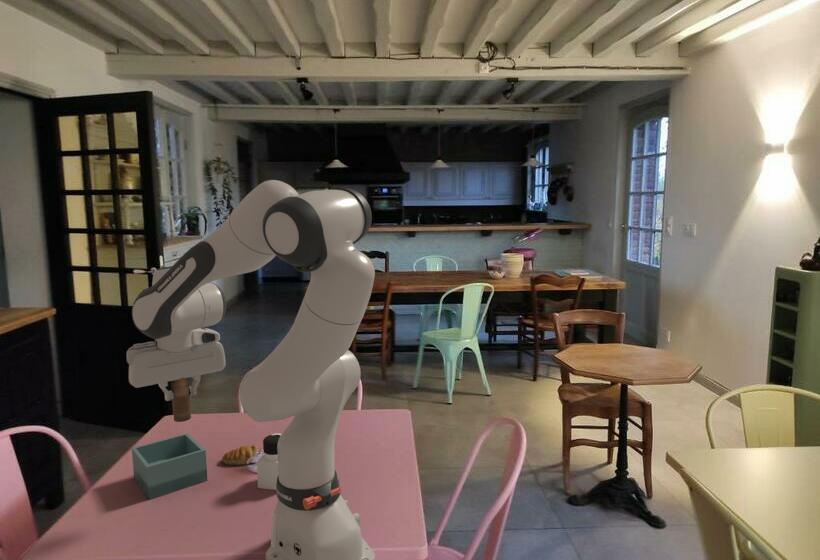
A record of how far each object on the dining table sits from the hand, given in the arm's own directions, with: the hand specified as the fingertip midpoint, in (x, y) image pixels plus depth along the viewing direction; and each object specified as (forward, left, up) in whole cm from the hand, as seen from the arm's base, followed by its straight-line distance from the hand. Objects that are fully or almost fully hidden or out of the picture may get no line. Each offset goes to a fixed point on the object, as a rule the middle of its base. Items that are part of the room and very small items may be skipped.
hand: (181, 397), depth 122 cm
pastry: (+11, -18, -26) cm, 33 cm away
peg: (0, 0, -5) cm, 5 cm away
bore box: (+13, 0, -25) cm, 28 cm away
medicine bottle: (-6, -20, -25) cm, 33 cm away
